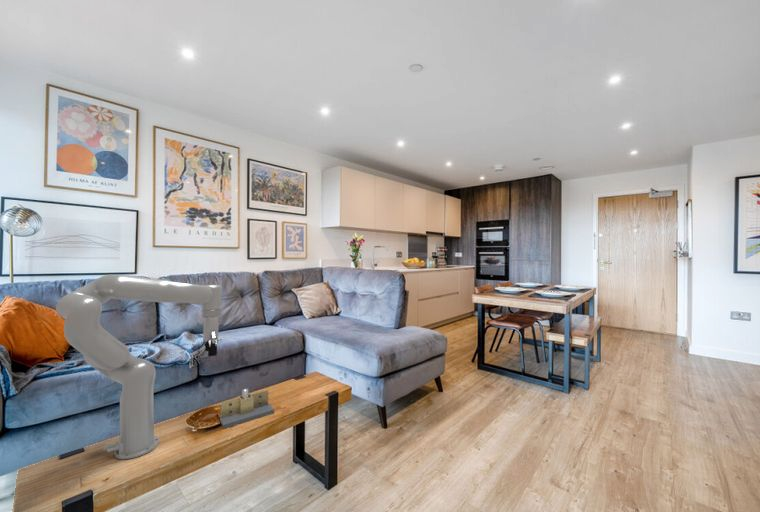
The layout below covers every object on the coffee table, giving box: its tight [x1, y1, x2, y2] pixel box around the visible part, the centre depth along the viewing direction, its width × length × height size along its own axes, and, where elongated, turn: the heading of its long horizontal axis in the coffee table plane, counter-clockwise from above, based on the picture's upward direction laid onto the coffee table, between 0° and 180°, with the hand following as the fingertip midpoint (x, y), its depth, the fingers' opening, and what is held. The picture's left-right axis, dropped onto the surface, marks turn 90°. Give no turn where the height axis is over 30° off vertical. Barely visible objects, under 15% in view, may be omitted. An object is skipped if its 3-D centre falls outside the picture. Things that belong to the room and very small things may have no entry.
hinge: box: [220, 390, 269, 418], centre depth 137 cm, size 19×5×6 cm, turn 127°
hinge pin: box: [241, 387, 249, 399], centre depth 137 cm, size 2×2×9 cm
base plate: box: [219, 402, 275, 429], centre depth 137 cm, size 20×14×2 cm
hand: (211, 353), depth 137 cm, fingers open, 9 cm apart
